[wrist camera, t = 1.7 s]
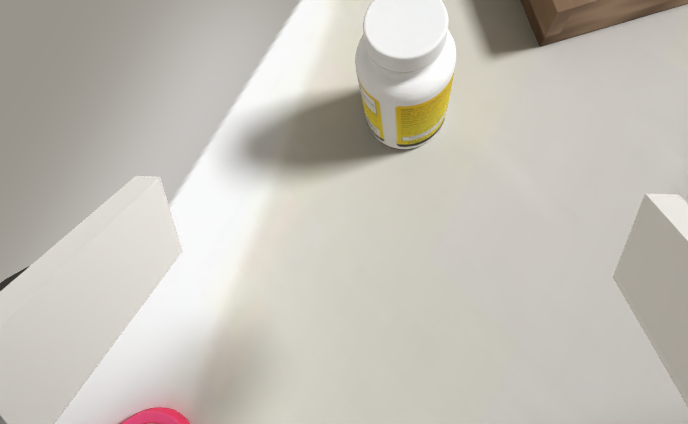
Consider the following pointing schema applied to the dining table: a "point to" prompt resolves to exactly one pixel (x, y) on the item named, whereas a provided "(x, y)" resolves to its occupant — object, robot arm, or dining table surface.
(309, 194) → the dining table surface
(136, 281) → the robot arm
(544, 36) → the walnut tray
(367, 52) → the supplement bottle
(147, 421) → the fitness band
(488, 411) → the dining table surface
